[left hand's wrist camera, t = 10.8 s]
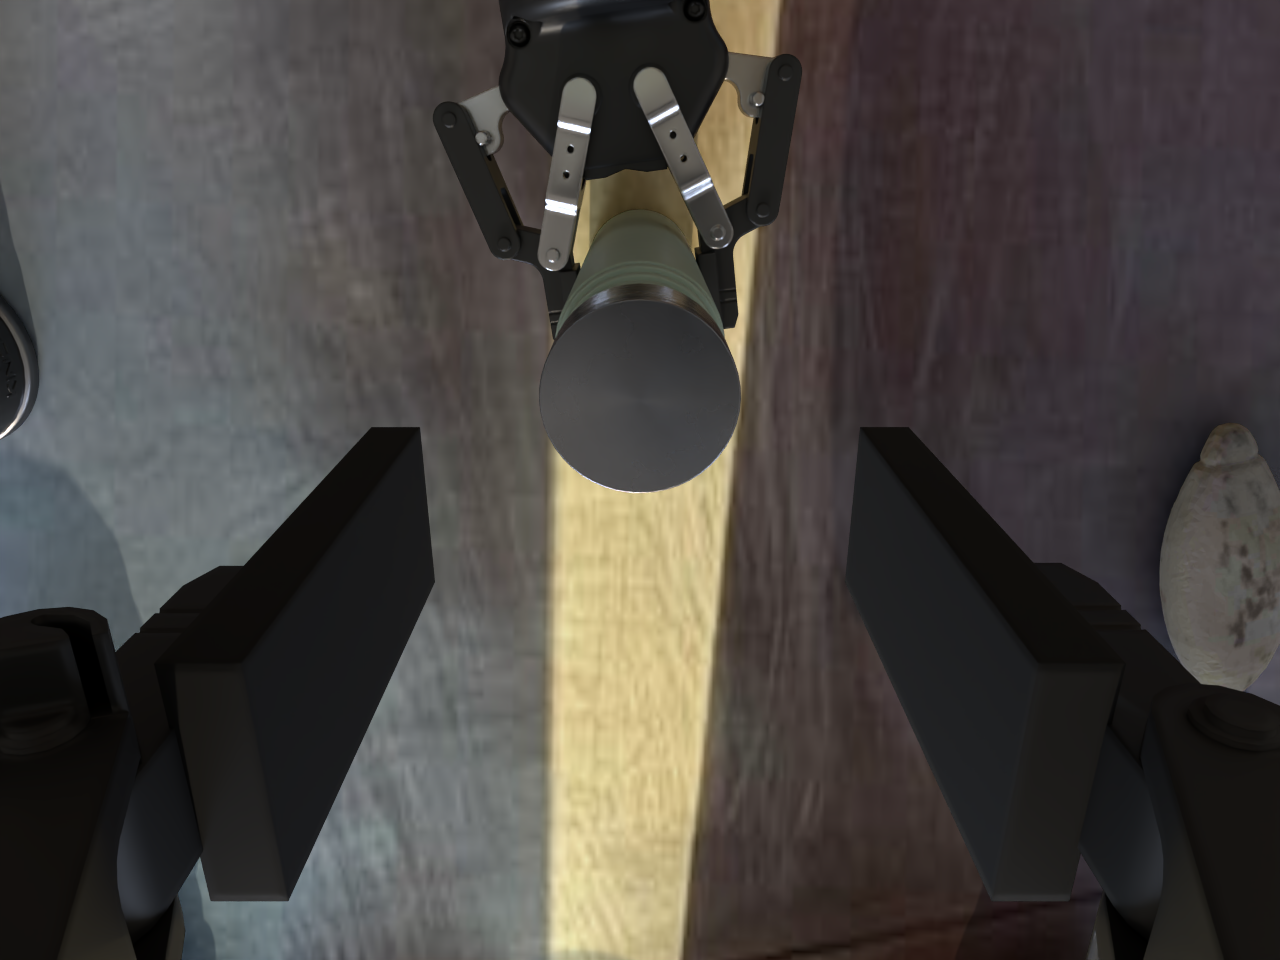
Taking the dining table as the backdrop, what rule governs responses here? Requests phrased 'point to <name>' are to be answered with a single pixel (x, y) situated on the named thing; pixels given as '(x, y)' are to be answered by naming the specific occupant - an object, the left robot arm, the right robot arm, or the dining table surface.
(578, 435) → the cap
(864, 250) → the dining table surface
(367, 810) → the dining table surface
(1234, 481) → the decorative stone
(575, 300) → the bottle
